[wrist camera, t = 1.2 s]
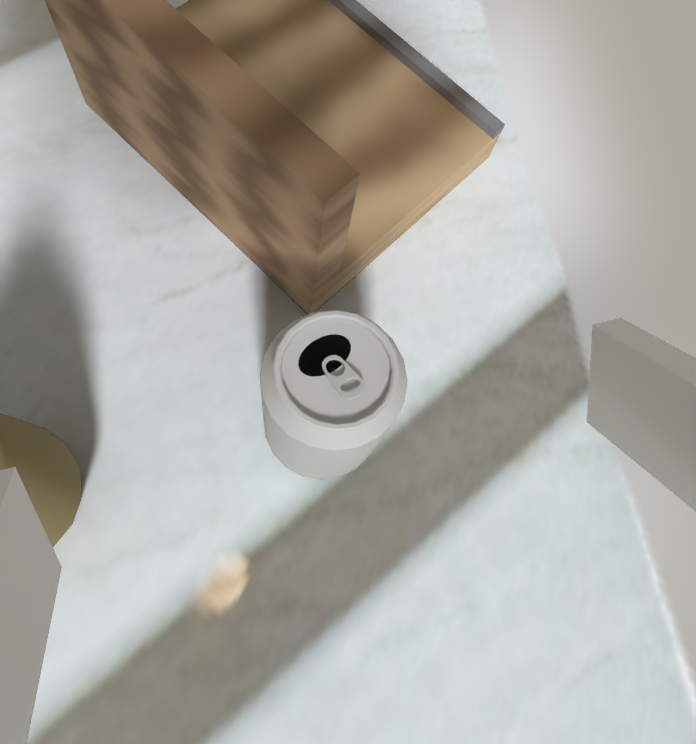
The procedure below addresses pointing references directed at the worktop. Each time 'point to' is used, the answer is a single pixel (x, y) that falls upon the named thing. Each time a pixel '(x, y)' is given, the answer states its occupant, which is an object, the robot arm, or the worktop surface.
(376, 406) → the can
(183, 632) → the worktop surface
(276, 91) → the wooden l-shaped piece
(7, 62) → the worktop surface
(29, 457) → the squeeze bottle
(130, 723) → the worktop surface
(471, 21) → the worktop surface
